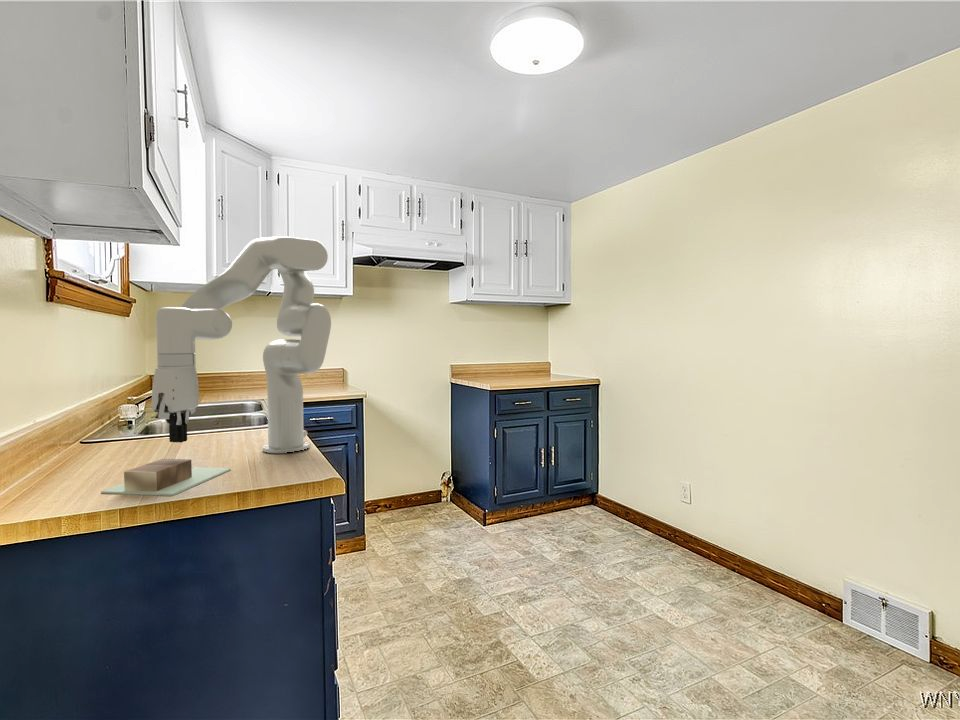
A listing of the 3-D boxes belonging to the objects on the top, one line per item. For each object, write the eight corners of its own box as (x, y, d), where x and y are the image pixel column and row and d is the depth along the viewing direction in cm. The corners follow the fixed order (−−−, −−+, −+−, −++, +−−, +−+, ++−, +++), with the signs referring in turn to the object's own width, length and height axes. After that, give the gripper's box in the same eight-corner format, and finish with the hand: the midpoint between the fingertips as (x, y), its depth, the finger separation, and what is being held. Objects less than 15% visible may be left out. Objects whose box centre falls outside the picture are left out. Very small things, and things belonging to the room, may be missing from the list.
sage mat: (169, 468, 125) (169, 466, 125) (230, 470, 124) (230, 468, 124) (100, 493, 106) (100, 491, 106) (172, 495, 104) (172, 493, 104)
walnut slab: (162, 458, 117) (124, 471, 106) (191, 459, 116) (155, 472, 105) (163, 476, 117) (124, 490, 106) (191, 476, 116) (155, 491, 105)
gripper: (183, 360, 124) (185, 435, 125) (136, 363, 109) (138, 448, 110) (212, 360, 123) (214, 435, 124) (168, 363, 109) (170, 449, 109)
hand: (178, 441), depth 117 cm, fingers closed
